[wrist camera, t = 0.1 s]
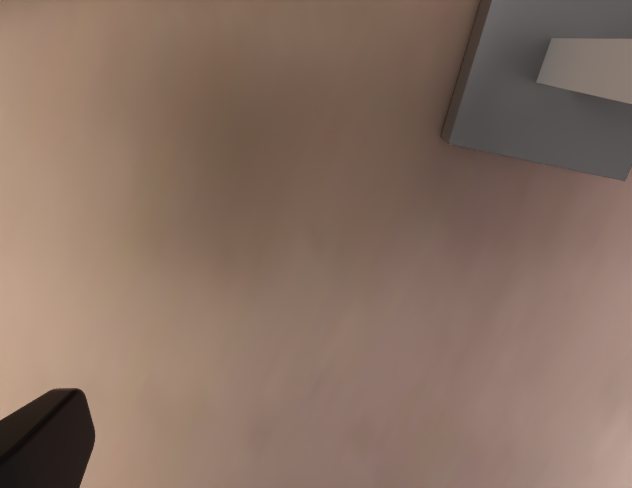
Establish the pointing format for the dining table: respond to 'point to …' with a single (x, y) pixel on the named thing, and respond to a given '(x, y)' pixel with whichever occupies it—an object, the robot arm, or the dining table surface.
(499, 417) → the dining table surface
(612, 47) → the stand
